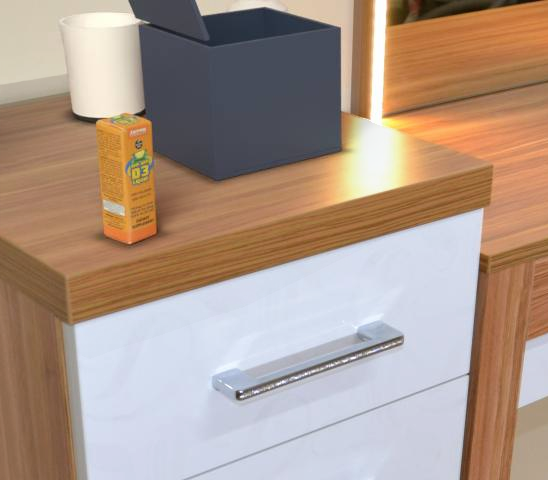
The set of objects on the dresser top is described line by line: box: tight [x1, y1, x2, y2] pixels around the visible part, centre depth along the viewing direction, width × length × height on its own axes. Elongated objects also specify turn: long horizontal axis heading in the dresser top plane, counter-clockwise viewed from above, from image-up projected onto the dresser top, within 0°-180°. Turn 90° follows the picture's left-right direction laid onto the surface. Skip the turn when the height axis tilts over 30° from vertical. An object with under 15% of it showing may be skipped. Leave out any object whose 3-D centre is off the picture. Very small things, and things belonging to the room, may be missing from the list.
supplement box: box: [95, 113, 158, 245], centre depth 94 cm, size 3×3×10 cm
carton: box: [138, 7, 342, 182], centre depth 115 cm, size 15×13×12 cm
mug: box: [58, 11, 149, 123], centre depth 127 cm, size 11×9×10 cm
